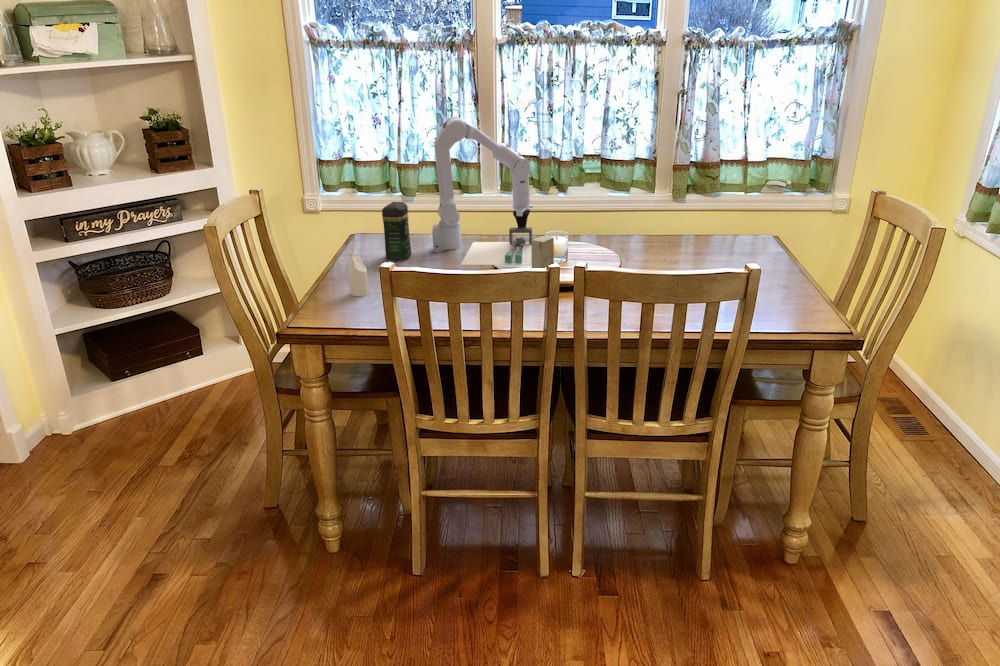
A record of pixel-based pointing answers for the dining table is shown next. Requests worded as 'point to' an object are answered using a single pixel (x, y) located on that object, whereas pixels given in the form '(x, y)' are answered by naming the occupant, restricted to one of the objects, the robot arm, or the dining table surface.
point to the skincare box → (542, 251)
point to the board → (494, 254)
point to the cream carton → (358, 277)
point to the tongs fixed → (520, 249)
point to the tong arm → (511, 252)
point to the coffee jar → (396, 231)
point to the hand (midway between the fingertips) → (522, 231)
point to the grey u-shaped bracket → (520, 230)
